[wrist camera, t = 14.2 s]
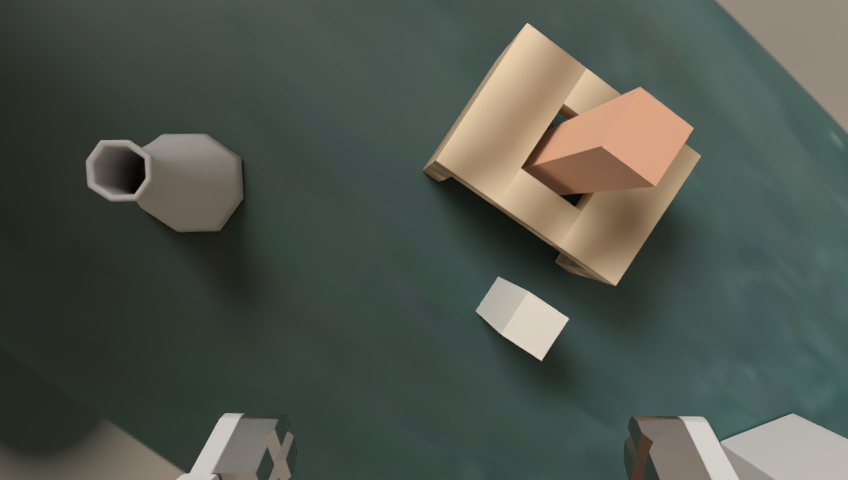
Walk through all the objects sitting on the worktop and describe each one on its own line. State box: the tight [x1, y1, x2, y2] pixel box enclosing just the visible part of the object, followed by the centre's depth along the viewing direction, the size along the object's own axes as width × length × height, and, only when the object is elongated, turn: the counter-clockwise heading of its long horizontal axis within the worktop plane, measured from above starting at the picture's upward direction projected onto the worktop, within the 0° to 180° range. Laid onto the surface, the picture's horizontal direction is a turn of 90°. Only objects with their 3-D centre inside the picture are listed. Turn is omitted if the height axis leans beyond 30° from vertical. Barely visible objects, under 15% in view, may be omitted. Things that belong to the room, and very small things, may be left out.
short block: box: [476, 277, 569, 361], centre depth 33 cm, size 3×3×7 cm
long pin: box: [521, 87, 694, 195], centre depth 29 cm, size 3×3×15 cm
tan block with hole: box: [423, 23, 701, 286], centre depth 33 cm, size 14×10×7 cm
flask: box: [86, 134, 243, 232], centre depth 28 cm, size 7×7×10 cm
